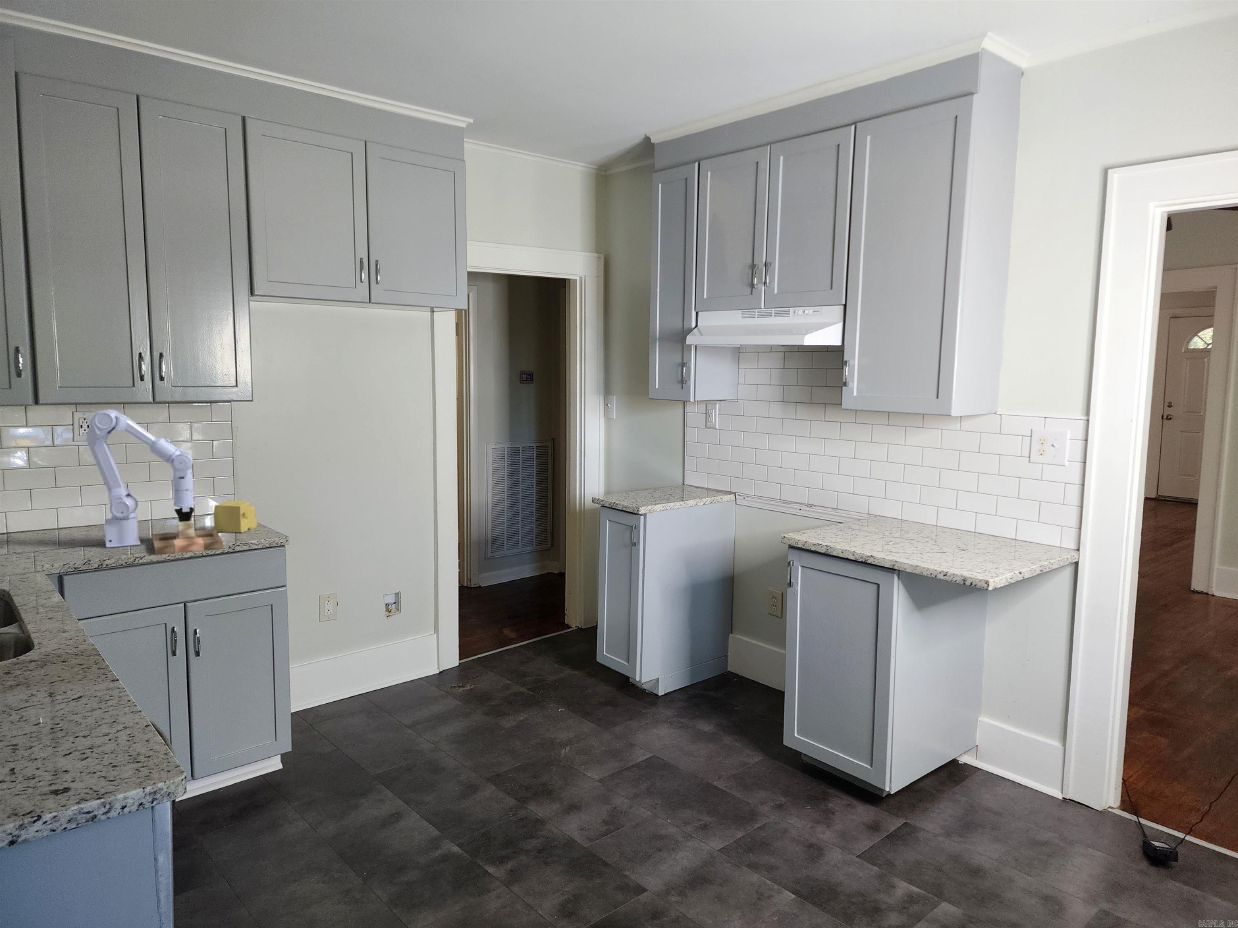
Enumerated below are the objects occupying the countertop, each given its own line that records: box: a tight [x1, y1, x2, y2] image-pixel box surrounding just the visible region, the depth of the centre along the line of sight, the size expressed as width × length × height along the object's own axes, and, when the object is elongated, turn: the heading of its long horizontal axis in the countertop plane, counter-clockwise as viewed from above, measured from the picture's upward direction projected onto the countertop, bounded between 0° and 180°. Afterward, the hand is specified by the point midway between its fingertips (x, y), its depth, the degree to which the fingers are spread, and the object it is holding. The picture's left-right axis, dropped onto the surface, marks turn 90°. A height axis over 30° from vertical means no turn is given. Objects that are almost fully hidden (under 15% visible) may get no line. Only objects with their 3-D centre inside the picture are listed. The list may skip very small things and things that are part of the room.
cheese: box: [213, 499, 258, 533], centre depth 293 cm, size 10×11×10 cm
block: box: [177, 520, 195, 538], centre depth 269 cm, size 4×4×4 cm
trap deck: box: [151, 528, 224, 556], centre depth 267 cm, size 19×22×2 cm
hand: (185, 529), depth 272 cm, fingers closed
